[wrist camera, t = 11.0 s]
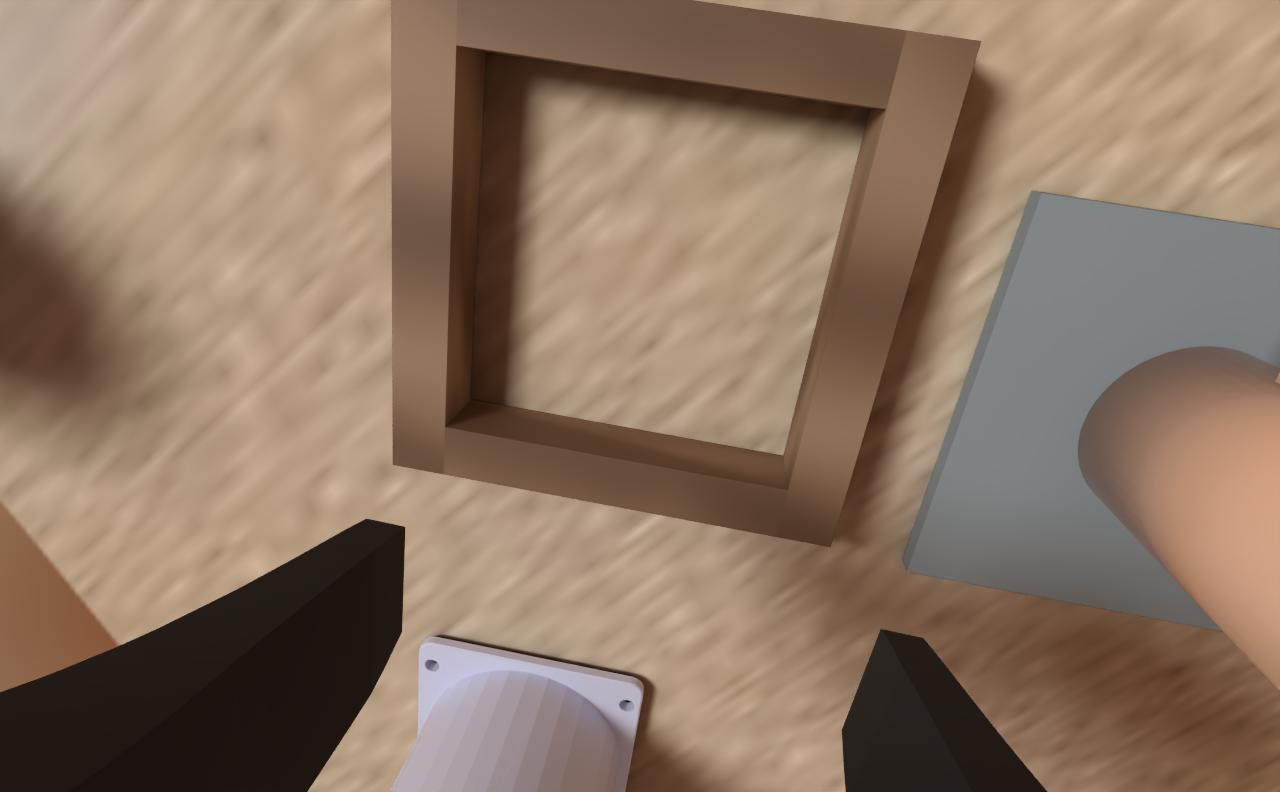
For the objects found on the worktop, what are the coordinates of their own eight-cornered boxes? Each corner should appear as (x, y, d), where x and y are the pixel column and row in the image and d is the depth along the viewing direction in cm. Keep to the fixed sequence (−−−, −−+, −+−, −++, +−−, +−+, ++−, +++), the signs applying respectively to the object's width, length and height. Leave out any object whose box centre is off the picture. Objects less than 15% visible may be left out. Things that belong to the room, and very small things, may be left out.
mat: (1276, 630, 21) (1291, 644, 20) (902, 560, 21) (906, 571, 21) (1511, 264, 16) (1538, 269, 16) (1031, 190, 17) (1041, 193, 16)
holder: (821, 508, 21) (830, 546, 19) (421, 434, 22) (392, 465, 20) (952, 48, 16) (981, 41, 14) (428, -26, 17) (390, -43, 15)
